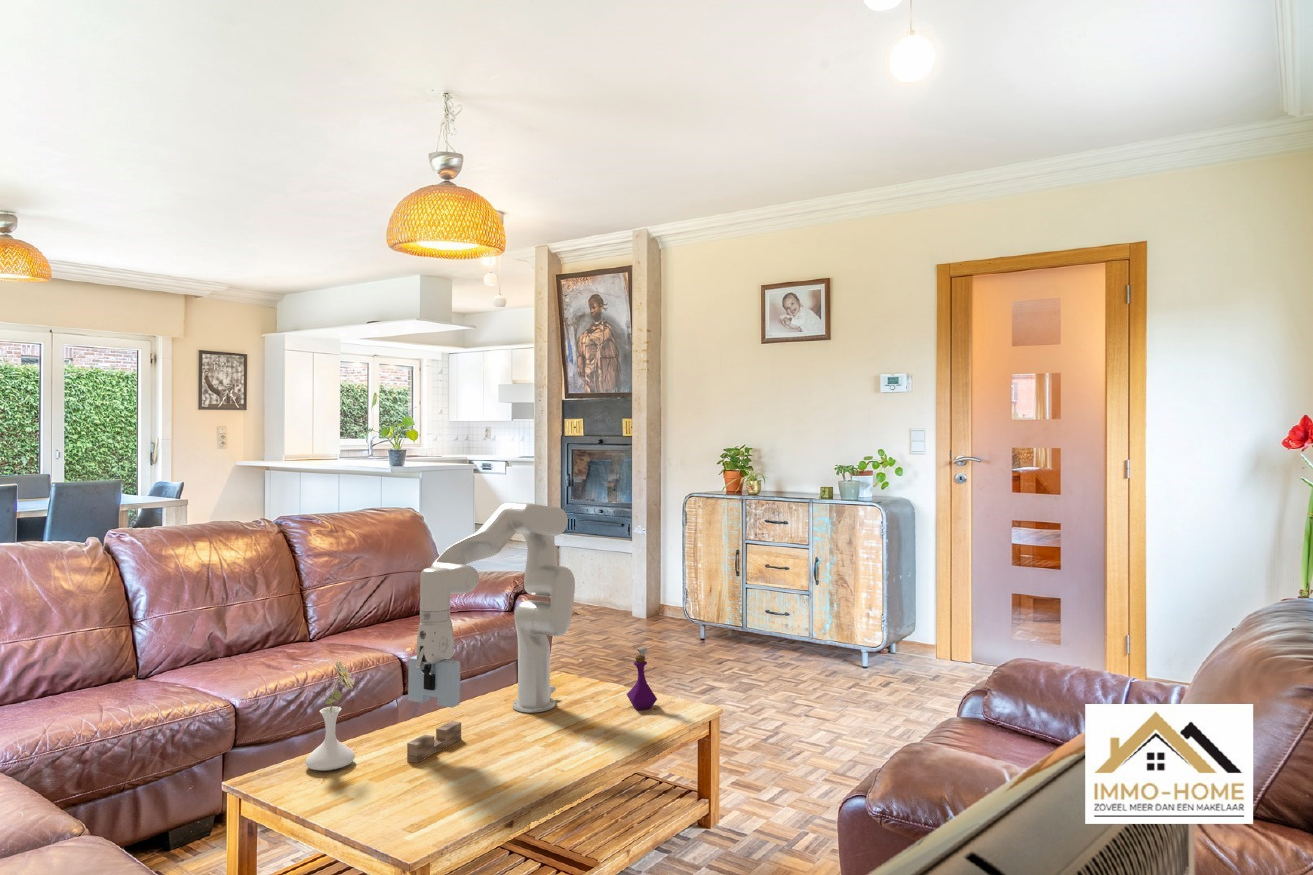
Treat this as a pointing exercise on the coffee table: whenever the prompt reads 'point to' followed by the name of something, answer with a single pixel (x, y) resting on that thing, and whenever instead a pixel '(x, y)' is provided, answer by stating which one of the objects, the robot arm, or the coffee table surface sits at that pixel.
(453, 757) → the coffee table surface
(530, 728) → the coffee table surface
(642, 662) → the perfume bottle
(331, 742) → the flower in vase
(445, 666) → the blue grey notched plate
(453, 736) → the brown notched bar
